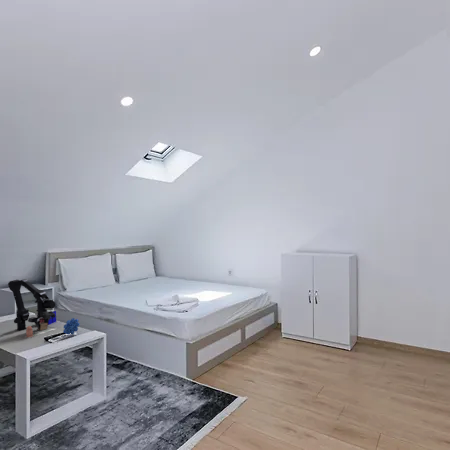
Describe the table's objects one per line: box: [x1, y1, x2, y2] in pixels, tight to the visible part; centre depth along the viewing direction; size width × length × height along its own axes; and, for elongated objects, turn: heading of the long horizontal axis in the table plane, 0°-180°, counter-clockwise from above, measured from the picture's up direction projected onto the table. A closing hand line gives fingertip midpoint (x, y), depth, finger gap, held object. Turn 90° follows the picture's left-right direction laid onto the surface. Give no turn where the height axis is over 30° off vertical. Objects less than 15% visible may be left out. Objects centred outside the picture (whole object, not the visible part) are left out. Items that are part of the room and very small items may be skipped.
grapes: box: [62, 317, 81, 335], centre depth 257 cm, size 12×7×12 cm, turn 132°
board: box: [26, 327, 56, 338], centre depth 261 cm, size 6×22×1 cm, turn 150°
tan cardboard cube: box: [36, 322, 48, 331], centre depth 271 cm, size 5×5×5 cm
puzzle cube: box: [36, 309, 57, 326], centre depth 289 cm, size 10×10×10 cm
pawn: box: [25, 325, 34, 338], centre depth 253 cm, size 4×4×8 cm
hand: (42, 328), depth 271 cm, fingers closed on tan cardboard cube, 5 cm apart
